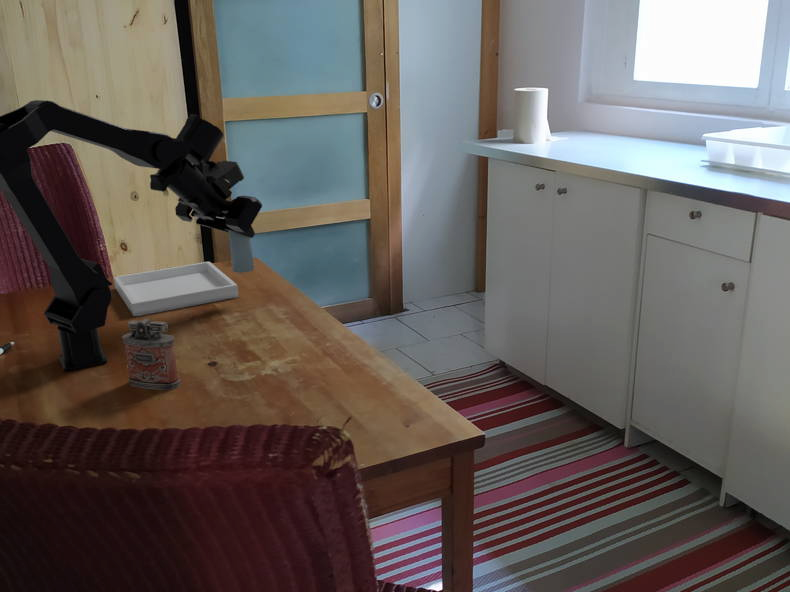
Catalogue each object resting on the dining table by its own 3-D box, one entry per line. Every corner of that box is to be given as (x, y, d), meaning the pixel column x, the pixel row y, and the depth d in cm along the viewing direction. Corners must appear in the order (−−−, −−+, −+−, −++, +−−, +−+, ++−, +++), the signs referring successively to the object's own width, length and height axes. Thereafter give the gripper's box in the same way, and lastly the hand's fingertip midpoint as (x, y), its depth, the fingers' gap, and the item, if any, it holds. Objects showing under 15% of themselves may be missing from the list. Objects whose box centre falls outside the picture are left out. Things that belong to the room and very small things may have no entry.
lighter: (124, 386, 112) (114, 322, 108) (138, 376, 115) (128, 314, 112) (172, 391, 109) (163, 327, 106) (185, 381, 112) (176, 318, 109)
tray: (238, 297, 149) (237, 285, 148) (134, 316, 140) (132, 304, 139) (210, 272, 166) (209, 261, 165) (115, 288, 157) (113, 277, 156)
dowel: (257, 269, 143) (251, 204, 139) (238, 273, 141) (231, 207, 137) (248, 265, 146) (242, 201, 142) (229, 269, 144) (222, 204, 140)
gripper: (248, 151, 128) (300, 204, 139) (181, 144, 139) (234, 194, 151) (216, 205, 125) (271, 255, 136) (149, 194, 136) (206, 241, 147)
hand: (245, 234), depth 143 cm, fingers closed on dowel, 4 cm apart
